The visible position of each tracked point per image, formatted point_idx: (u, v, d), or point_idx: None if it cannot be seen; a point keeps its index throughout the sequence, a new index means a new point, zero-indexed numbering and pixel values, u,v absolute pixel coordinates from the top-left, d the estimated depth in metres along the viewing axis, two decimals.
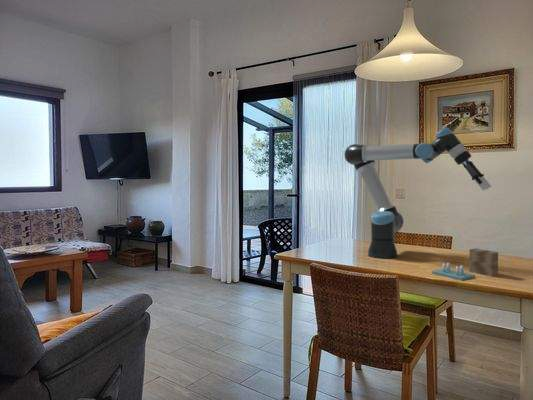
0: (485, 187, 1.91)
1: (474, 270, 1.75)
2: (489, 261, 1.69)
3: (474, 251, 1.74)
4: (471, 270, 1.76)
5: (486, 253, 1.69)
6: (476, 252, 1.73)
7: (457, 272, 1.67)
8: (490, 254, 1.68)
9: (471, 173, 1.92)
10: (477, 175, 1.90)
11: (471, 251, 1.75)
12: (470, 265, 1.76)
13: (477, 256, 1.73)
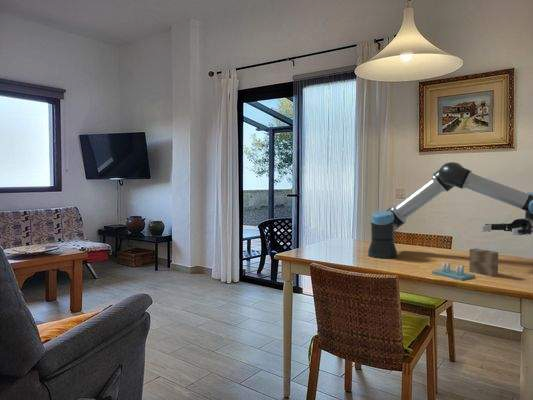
0: (514, 232, 1.71)
1: (474, 270, 1.75)
2: (489, 261, 1.69)
3: (474, 251, 1.74)
4: (471, 270, 1.76)
5: (486, 253, 1.69)
6: (476, 252, 1.73)
7: (457, 272, 1.67)
8: (490, 254, 1.68)
9: None
10: None
11: (471, 251, 1.75)
12: (470, 265, 1.76)
13: (477, 256, 1.73)
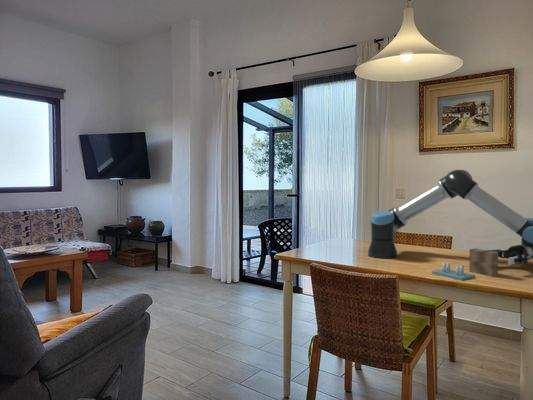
0: (510, 262, 1.70)
1: (474, 270, 1.75)
2: (489, 261, 1.69)
3: (474, 251, 1.74)
4: (471, 270, 1.76)
5: (486, 253, 1.69)
6: (476, 252, 1.73)
7: (457, 272, 1.67)
8: (490, 254, 1.68)
9: (527, 258, 1.73)
10: (525, 263, 1.71)
11: (471, 251, 1.75)
12: (470, 265, 1.76)
13: (477, 256, 1.73)
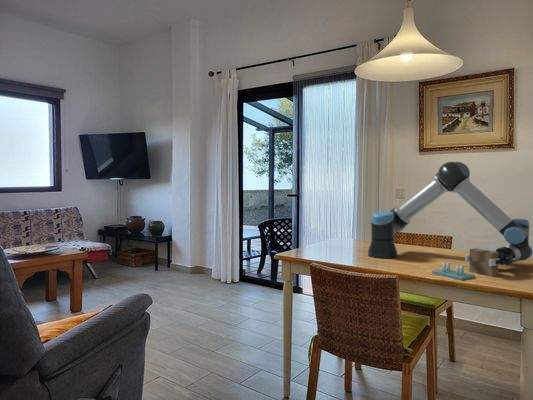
0: (491, 263, 1.66)
1: (474, 270, 1.75)
2: None
3: (474, 251, 1.74)
4: (471, 270, 1.76)
5: (486, 253, 1.69)
6: (476, 252, 1.73)
7: (457, 272, 1.67)
8: (490, 254, 1.68)
9: (509, 260, 1.69)
10: (506, 264, 1.68)
11: (471, 251, 1.75)
12: (470, 265, 1.76)
13: (477, 256, 1.73)
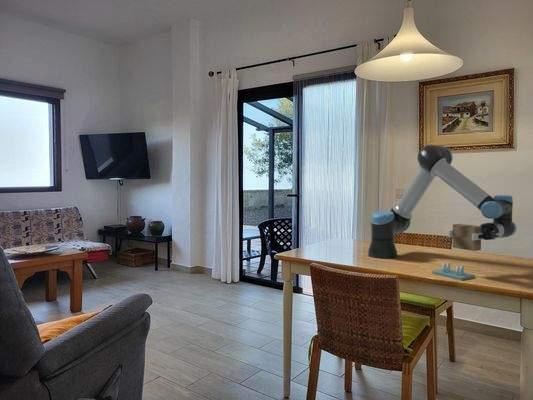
0: (474, 238, 1.63)
1: (457, 245, 1.71)
2: None
3: (457, 226, 1.71)
4: (454, 245, 1.73)
5: (469, 227, 1.66)
6: (459, 227, 1.70)
7: (457, 272, 1.67)
8: (473, 228, 1.65)
9: (492, 235, 1.66)
10: (489, 239, 1.65)
11: (454, 226, 1.72)
12: (453, 240, 1.73)
13: (460, 231, 1.70)
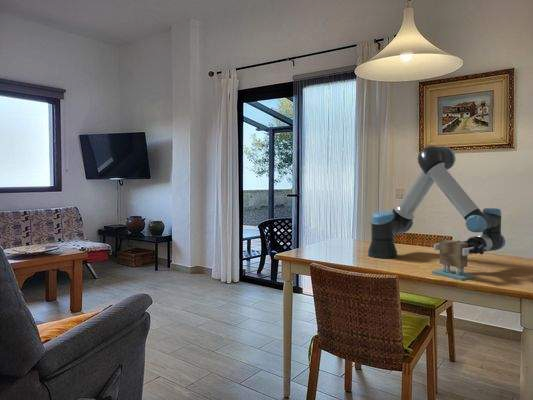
0: (465, 253, 1.63)
1: (444, 261, 1.72)
2: (458, 252, 1.66)
3: (444, 242, 1.71)
4: (441, 261, 1.73)
5: (455, 244, 1.67)
6: (446, 243, 1.71)
7: (457, 272, 1.67)
8: (459, 245, 1.65)
9: (483, 249, 1.65)
10: None
11: (441, 242, 1.73)
12: (440, 256, 1.73)
13: (447, 247, 1.70)
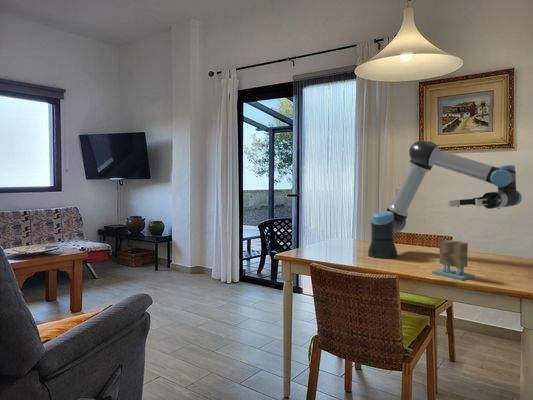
0: (478, 203, 1.69)
1: (444, 261, 1.72)
2: (458, 252, 1.66)
3: (444, 242, 1.71)
4: (441, 261, 1.73)
5: (455, 244, 1.67)
6: (446, 243, 1.71)
7: (457, 272, 1.67)
8: (459, 245, 1.65)
9: (496, 200, 1.71)
10: (494, 204, 1.70)
11: (441, 242, 1.73)
12: (440, 256, 1.73)
13: (447, 247, 1.70)
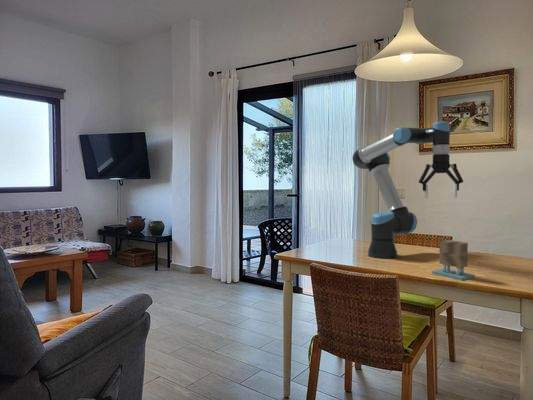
0: (425, 196, 1.96)
1: (444, 261, 1.72)
2: (458, 252, 1.66)
3: (444, 242, 1.71)
4: (441, 261, 1.73)
5: (455, 244, 1.67)
6: (446, 243, 1.71)
7: (457, 272, 1.67)
8: (459, 245, 1.65)
9: (420, 178, 1.96)
10: None
11: (441, 242, 1.73)
12: (440, 256, 1.73)
13: (447, 247, 1.70)
